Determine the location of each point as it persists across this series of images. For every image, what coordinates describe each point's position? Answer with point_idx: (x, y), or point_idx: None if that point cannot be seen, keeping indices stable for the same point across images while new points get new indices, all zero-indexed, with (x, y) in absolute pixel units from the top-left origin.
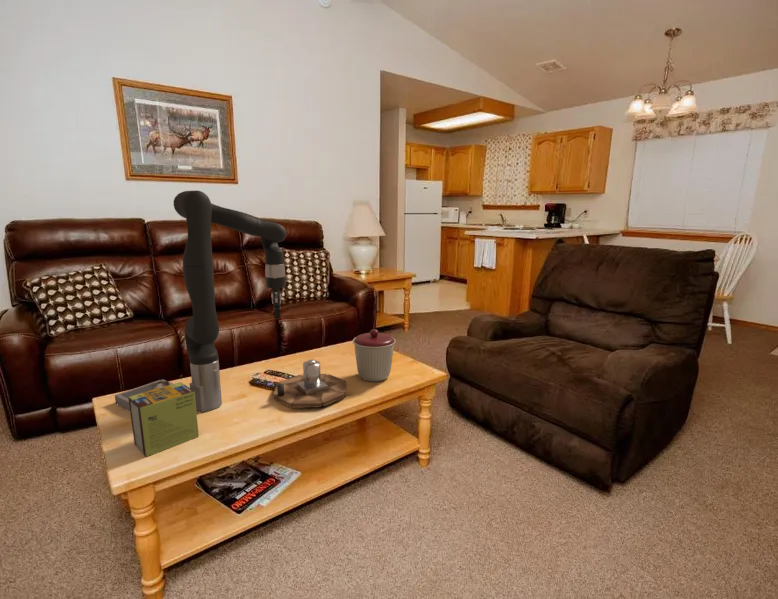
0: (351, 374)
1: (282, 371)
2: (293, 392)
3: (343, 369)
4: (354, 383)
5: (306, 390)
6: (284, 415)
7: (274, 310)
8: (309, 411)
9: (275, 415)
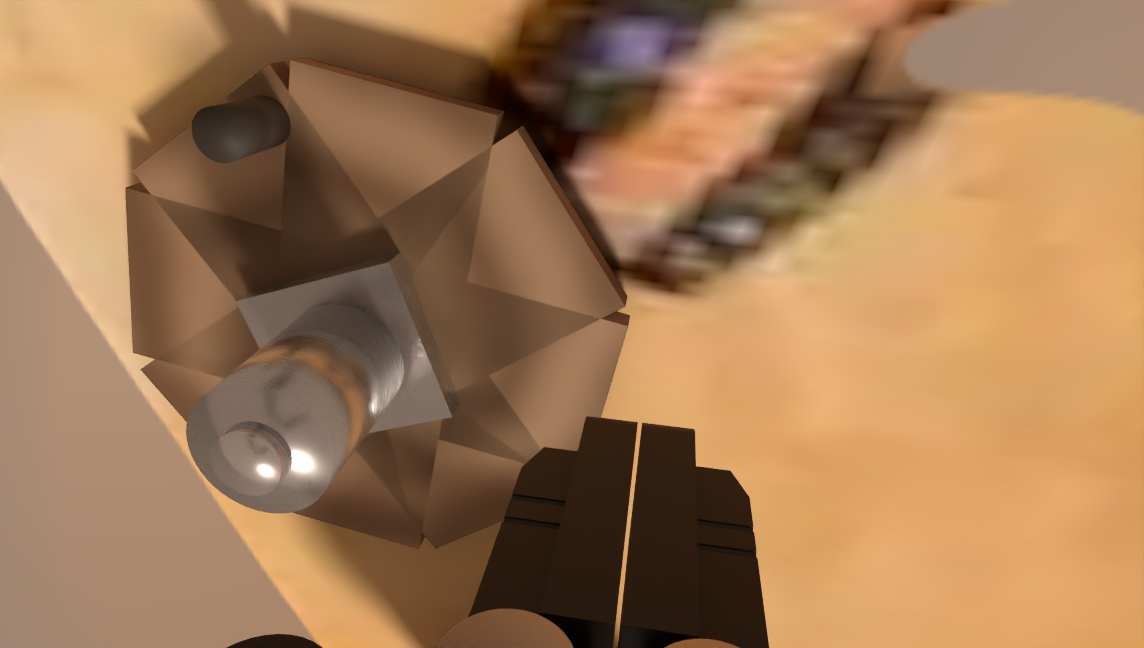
0: (622, 598)
1: (887, 175)
2: (300, 215)
3: None
4: (479, 572)
5: (246, 305)
6: (95, 117)
7: (550, 588)
8: None
9: (95, 58)
